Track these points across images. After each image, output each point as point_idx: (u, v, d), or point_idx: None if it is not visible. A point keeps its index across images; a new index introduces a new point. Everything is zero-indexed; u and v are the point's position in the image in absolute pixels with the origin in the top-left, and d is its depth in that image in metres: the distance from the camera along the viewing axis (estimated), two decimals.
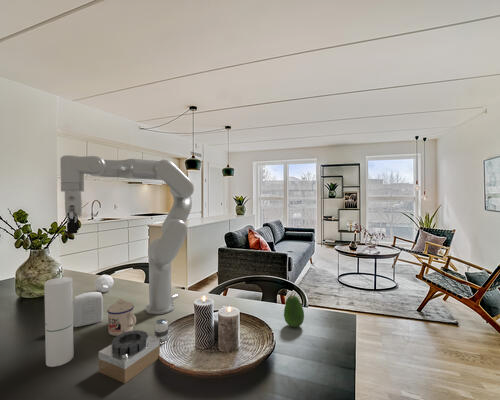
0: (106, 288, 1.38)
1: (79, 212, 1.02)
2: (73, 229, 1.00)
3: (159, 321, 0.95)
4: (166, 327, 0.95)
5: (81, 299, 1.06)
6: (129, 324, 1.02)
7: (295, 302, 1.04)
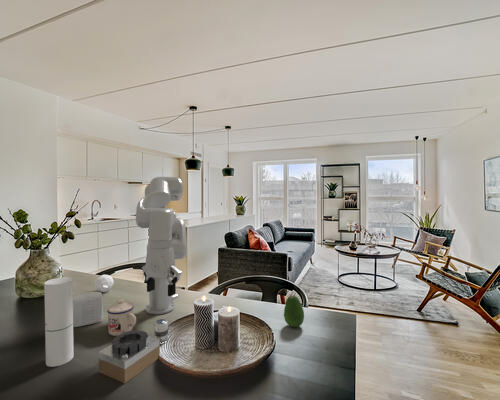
0: (106, 288, 1.38)
1: None
2: None
3: (159, 321, 0.95)
4: (166, 327, 0.95)
5: (81, 299, 1.06)
6: (129, 324, 1.02)
7: (295, 302, 1.04)
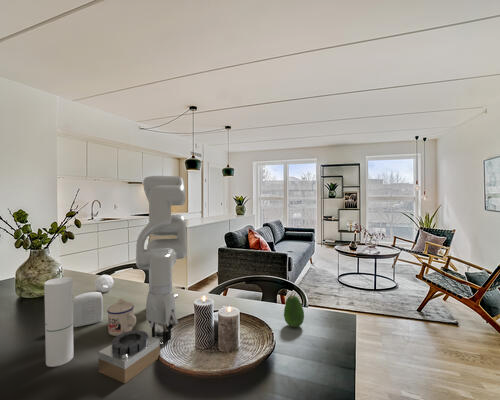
0: (106, 288, 1.38)
1: (146, 314, 0.95)
2: None
3: None
4: None
5: (81, 299, 1.06)
6: (129, 324, 1.02)
7: (295, 302, 1.04)
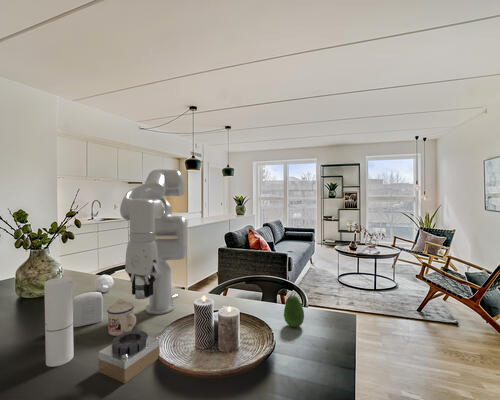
0: (106, 288, 1.38)
1: None
2: None
3: None
4: None
5: (81, 299, 1.06)
6: (129, 324, 1.02)
7: (295, 302, 1.04)
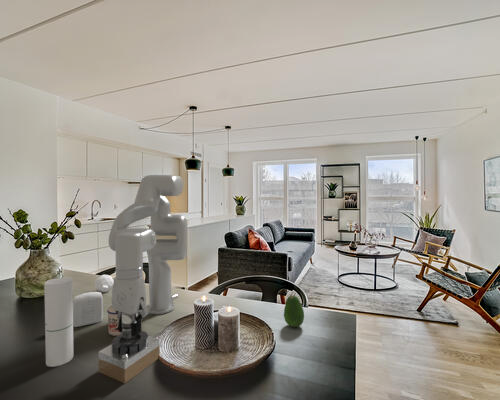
0: (106, 288, 1.38)
1: (112, 303, 0.82)
2: None
3: None
4: None
5: (81, 299, 1.06)
6: None
7: (295, 302, 1.04)
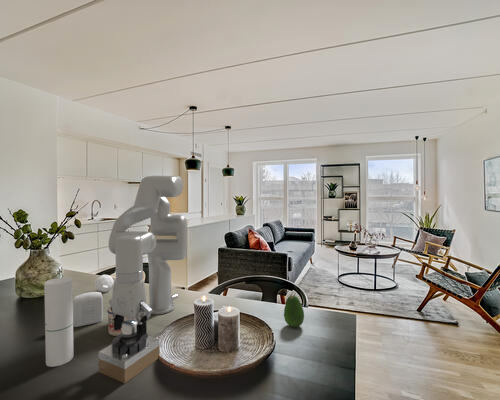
0: (106, 288, 1.38)
1: (112, 306, 0.82)
2: None
3: (127, 322, 0.82)
4: (135, 328, 0.82)
5: (81, 299, 1.06)
6: None
7: (295, 302, 1.04)
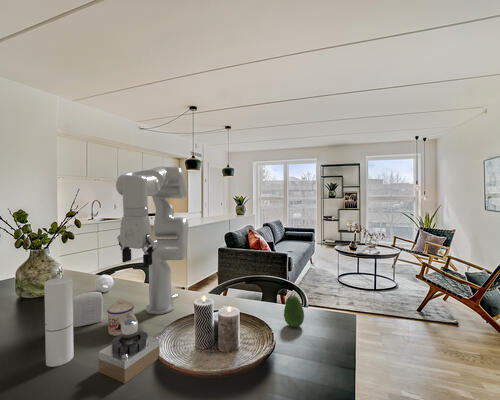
0: (106, 288, 1.38)
1: None
2: None
3: (127, 322, 0.82)
4: (135, 329, 0.82)
5: (81, 299, 1.06)
6: None
7: (295, 302, 1.04)
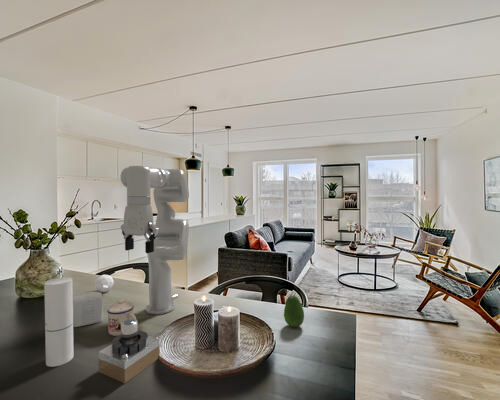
0: (106, 288, 1.38)
1: None
2: None
3: (127, 322, 0.82)
4: (135, 329, 0.82)
5: (81, 299, 1.06)
6: None
7: (295, 302, 1.04)
